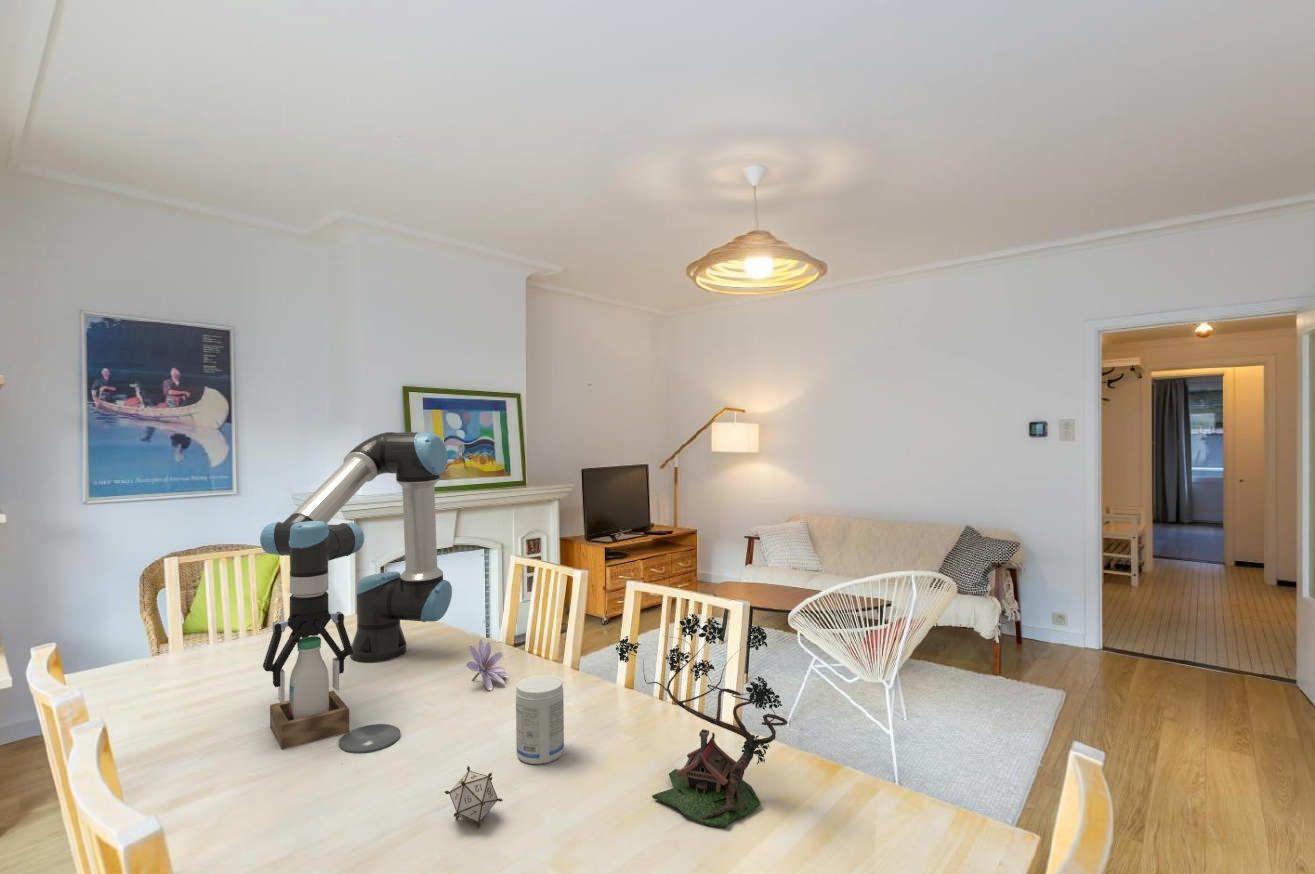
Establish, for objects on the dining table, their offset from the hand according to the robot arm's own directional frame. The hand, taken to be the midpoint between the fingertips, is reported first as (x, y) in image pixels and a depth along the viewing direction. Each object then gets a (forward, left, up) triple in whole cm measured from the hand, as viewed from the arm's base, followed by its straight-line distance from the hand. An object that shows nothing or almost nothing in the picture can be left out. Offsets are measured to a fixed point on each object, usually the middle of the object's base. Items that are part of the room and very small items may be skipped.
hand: (309, 694), depth 147 cm
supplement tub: (-34, +41, -8) cm, 54 cm away
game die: (-14, +54, -8) cm, 56 cm away
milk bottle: (0, 0, -8) cm, 8 cm away
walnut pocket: (0, 0, -8) cm, 8 cm away
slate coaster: (-9, +13, -8) cm, 18 cm away
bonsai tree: (-51, +69, -8) cm, 86 cm away
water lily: (-42, 0, -8) cm, 43 cm away
